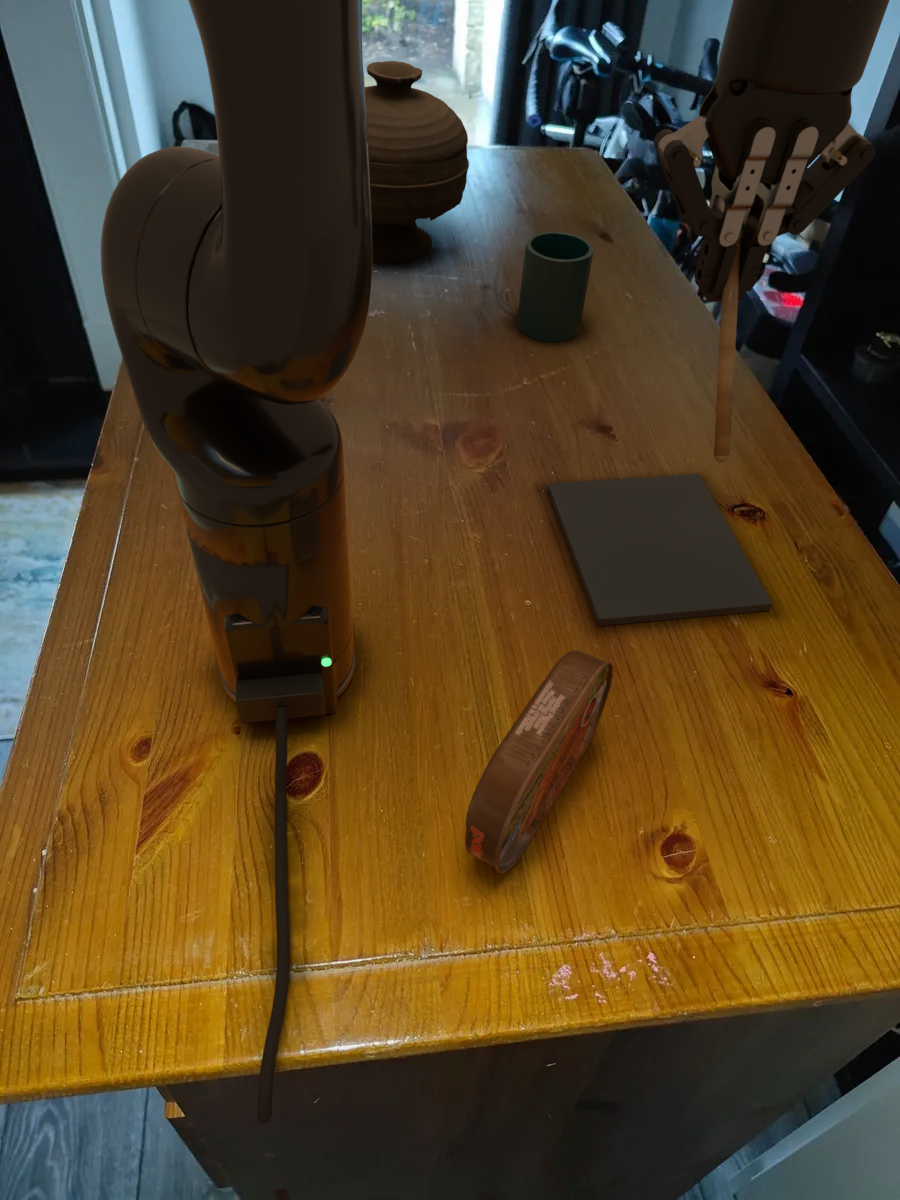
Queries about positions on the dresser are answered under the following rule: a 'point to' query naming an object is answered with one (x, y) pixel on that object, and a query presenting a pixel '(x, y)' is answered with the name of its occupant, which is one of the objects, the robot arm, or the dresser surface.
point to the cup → (554, 285)
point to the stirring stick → (727, 359)
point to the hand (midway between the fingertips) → (720, 294)
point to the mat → (654, 550)
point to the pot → (410, 161)
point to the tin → (536, 759)
